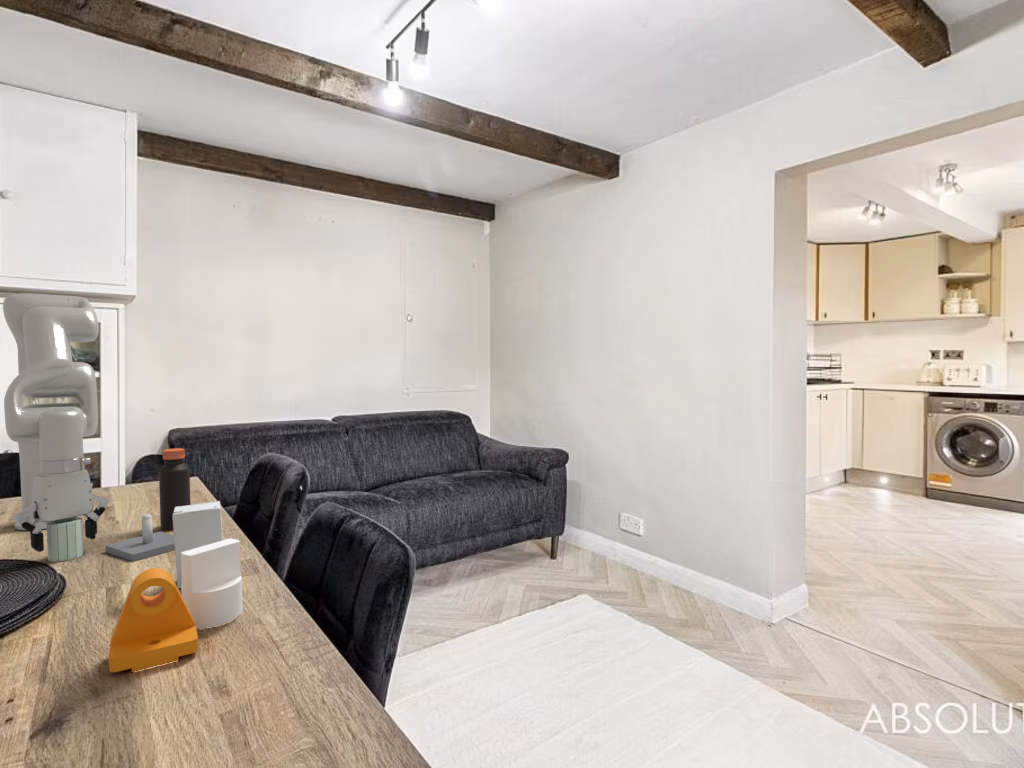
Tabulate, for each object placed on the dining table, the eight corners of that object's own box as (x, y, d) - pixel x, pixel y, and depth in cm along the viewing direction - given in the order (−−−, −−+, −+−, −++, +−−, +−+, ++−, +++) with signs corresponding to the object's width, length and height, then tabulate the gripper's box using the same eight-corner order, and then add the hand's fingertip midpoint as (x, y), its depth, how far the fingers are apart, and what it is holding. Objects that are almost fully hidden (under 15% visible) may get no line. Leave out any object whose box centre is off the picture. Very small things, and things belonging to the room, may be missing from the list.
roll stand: (105, 551, 130) (104, 516, 129) (160, 537, 140) (159, 504, 140) (133, 561, 124) (132, 524, 123) (189, 545, 134) (188, 511, 134)
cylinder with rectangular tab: (202, 634, 91) (199, 559, 90) (171, 620, 96) (169, 549, 95) (253, 613, 99) (252, 543, 98) (223, 601, 103) (221, 535, 103)
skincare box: (224, 572, 117) (222, 500, 117) (224, 582, 112) (222, 507, 111) (177, 579, 114) (174, 504, 113) (174, 590, 108) (172, 512, 108)
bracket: (109, 679, 78) (105, 592, 78) (111, 656, 84) (108, 575, 84) (198, 657, 84) (196, 576, 84) (194, 637, 90) (192, 561, 90)
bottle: (154, 528, 147) (152, 450, 146) (178, 521, 154) (176, 447, 153) (173, 531, 145) (170, 452, 144) (197, 524, 151) (195, 448, 150)
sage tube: (43, 558, 126) (41, 522, 125) (75, 550, 131) (74, 515, 130) (55, 563, 123) (54, 526, 122) (88, 555, 128) (86, 519, 127)
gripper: (98, 459, 135) (101, 531, 136) (5, 471, 120) (8, 552, 121) (114, 462, 131) (117, 536, 132) (20, 475, 116) (23, 559, 117)
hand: (65, 544), depth 127 cm, fingers open, 9 cm apart
